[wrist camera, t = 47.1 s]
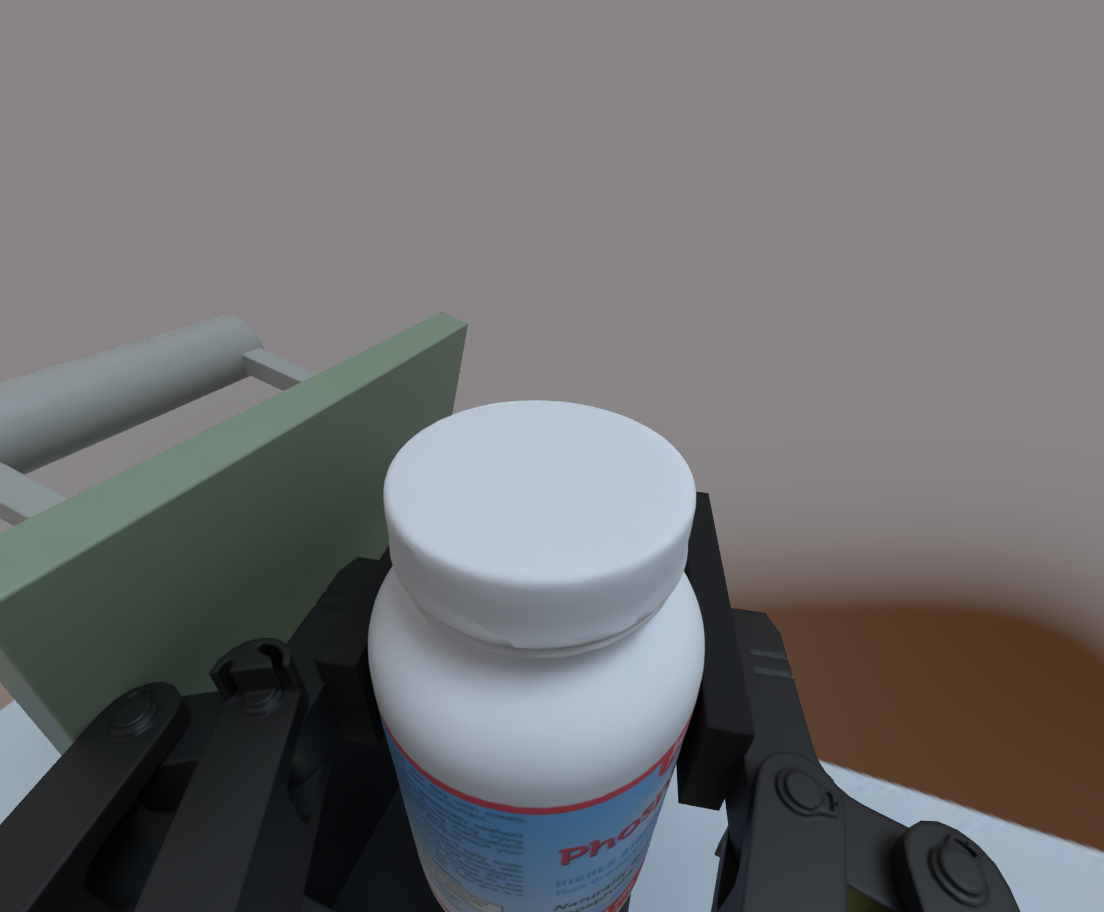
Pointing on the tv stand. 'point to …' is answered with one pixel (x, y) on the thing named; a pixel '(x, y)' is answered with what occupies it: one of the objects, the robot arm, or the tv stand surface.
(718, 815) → the tv stand surface
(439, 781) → the pill bottle
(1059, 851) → the tv stand surface
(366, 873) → the black box
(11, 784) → the tv stand surface
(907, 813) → the tv stand surface
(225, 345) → the box lid
